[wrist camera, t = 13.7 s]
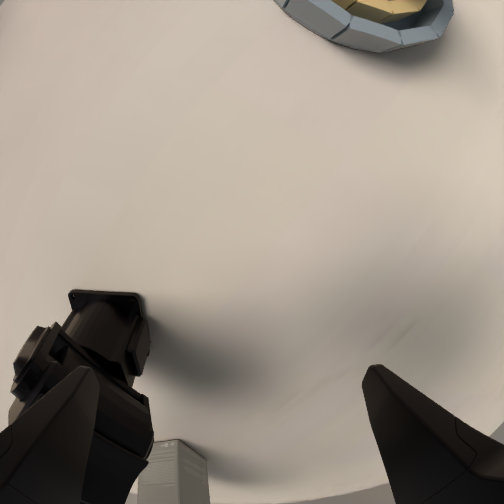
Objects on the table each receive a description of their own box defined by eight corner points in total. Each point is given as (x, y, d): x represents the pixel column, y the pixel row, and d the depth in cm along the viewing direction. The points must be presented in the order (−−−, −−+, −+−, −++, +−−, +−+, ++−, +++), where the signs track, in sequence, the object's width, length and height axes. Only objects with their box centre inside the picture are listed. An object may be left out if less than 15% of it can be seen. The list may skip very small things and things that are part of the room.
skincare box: (140, 441, 31) (127, 541, 16) (184, 436, 30) (181, 547, 16) (172, 465, 34) (169, 551, 20) (213, 460, 34) (217, 553, 19)
